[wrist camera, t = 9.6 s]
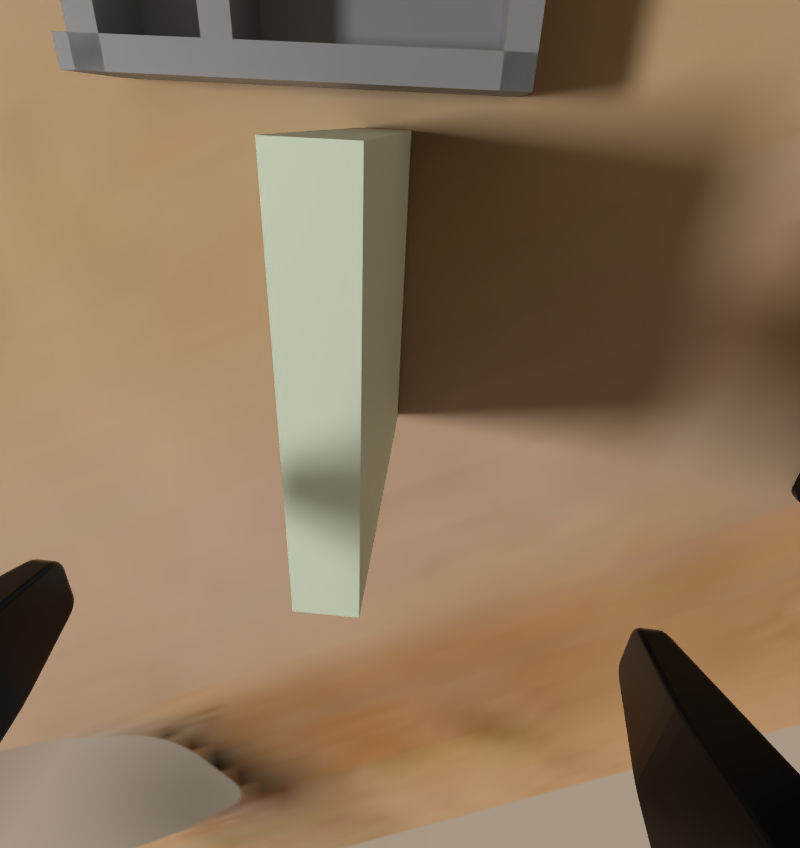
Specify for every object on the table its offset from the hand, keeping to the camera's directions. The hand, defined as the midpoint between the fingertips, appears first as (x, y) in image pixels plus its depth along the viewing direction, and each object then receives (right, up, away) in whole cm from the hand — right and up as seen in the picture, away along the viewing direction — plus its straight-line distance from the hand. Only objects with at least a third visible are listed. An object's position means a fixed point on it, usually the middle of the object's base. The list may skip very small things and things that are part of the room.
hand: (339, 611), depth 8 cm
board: (0, +8, +10) cm, 13 cm away
